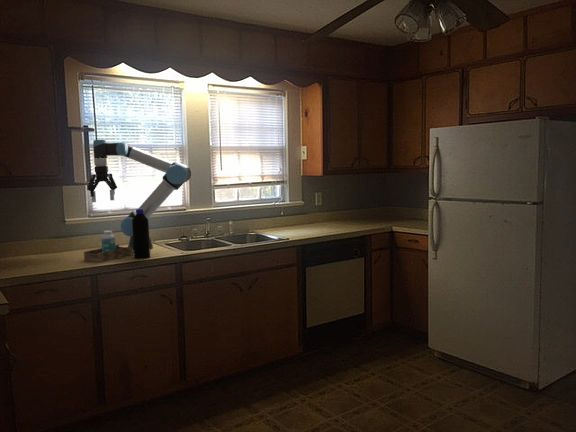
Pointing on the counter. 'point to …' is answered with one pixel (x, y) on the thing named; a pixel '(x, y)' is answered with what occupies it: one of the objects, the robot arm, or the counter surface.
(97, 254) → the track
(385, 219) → the counter surface
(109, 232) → the pill bottle
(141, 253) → the bottle
